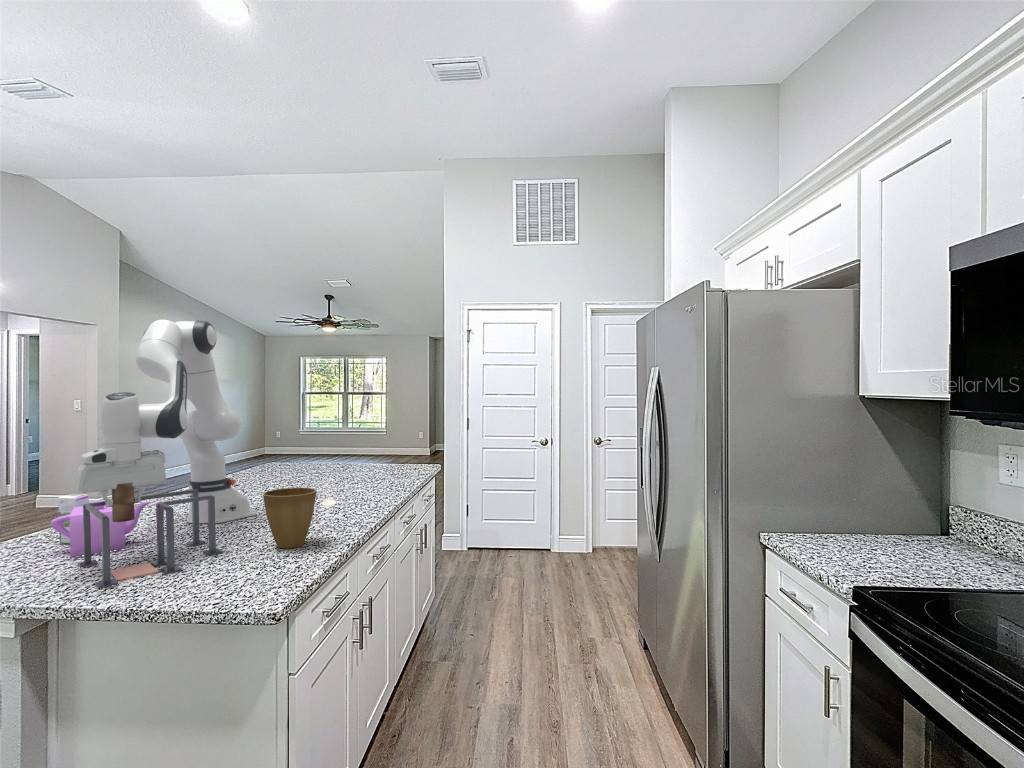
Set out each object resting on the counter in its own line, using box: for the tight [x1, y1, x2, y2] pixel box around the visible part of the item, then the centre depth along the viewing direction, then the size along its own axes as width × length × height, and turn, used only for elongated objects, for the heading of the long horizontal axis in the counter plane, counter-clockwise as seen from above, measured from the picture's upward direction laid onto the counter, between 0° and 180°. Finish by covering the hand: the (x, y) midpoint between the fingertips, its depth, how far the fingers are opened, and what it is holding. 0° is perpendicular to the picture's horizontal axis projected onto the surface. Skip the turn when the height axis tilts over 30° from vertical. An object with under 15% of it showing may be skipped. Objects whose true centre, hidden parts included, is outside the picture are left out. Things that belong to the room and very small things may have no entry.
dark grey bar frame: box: [76, 489, 223, 589], centre depth 162 cm, size 31×27×16 cm
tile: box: [110, 562, 160, 582], centre depth 154 cm, size 9×10×1 cm
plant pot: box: [262, 487, 317, 549], centre depth 177 cm, size 15×15×16 cm
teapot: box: [50, 499, 152, 558], centre depth 178 cm, size 15×25×14 cm, turn 123°
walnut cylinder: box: [111, 483, 135, 522], centre depth 160 cm, size 5×5×10 cm
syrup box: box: [57, 493, 90, 545], centre depth 185 cm, size 6×6×14 cm
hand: (123, 504), depth 160 cm, fingers closed on walnut cylinder, 5 cm apart
